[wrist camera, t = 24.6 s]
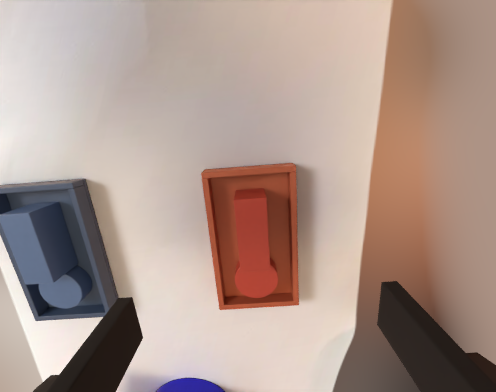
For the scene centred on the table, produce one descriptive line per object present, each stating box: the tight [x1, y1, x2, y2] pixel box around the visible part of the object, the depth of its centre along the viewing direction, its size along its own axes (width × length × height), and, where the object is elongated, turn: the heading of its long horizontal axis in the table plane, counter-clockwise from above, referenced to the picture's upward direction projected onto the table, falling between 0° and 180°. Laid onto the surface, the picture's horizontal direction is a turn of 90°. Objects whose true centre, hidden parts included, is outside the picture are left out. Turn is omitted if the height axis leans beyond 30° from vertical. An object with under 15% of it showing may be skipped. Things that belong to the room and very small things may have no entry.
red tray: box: [201, 163, 299, 310], centre depth 25 cm, size 16×9×2 cm, turn 4°
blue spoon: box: [0, 202, 92, 309], centre depth 25 cm, size 12×5×4 cm, turn 4°
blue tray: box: [0, 179, 118, 321], centre depth 26 cm, size 16×9×2 cm, turn 4°
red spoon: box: [234, 188, 278, 298], centre depth 24 cm, size 12×5×4 cm, turn 4°
